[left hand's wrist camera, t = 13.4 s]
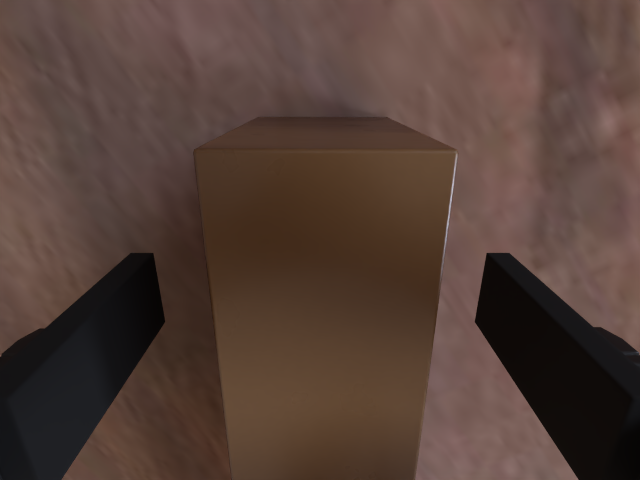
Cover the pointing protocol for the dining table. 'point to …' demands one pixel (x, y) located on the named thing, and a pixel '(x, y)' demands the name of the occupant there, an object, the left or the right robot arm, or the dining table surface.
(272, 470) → the beam
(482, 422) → the dining table surface
